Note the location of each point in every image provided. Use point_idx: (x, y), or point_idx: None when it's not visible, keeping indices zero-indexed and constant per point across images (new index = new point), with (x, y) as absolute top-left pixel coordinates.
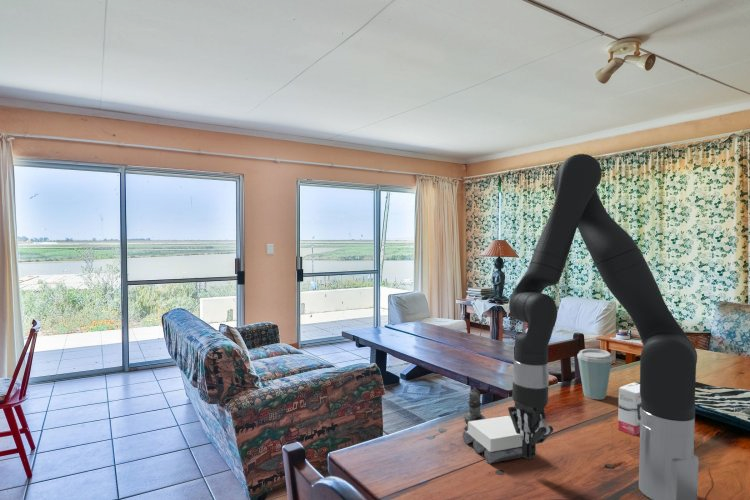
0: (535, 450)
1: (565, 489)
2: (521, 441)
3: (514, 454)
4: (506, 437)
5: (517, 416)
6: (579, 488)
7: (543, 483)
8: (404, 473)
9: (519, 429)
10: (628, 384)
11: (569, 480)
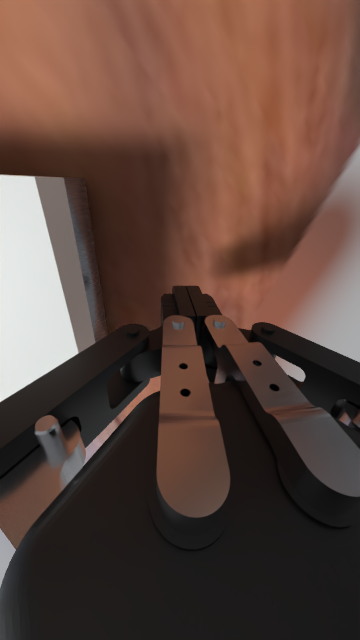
0: (217, 307)
1: (287, 230)
2: (71, 261)
3: (98, 284)
4: (79, 349)
5: (82, 427)
6: (311, 177)
7: (234, 270)
8: None
9: (143, 381)
10: None
11: (265, 170)
